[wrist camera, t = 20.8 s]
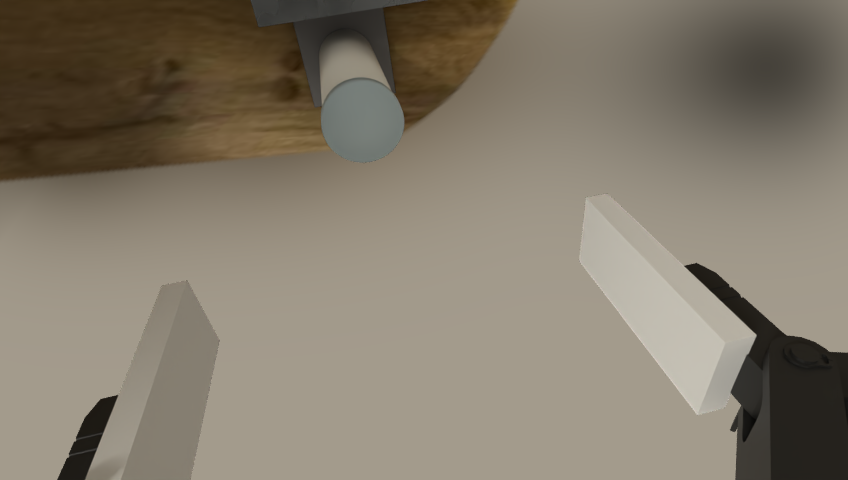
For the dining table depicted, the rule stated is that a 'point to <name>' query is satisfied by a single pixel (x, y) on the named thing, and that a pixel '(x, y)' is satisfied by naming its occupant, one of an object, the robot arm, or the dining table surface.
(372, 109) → the cartridge
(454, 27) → the dining table surface
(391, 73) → the mat
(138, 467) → the robot arm
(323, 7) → the housing
